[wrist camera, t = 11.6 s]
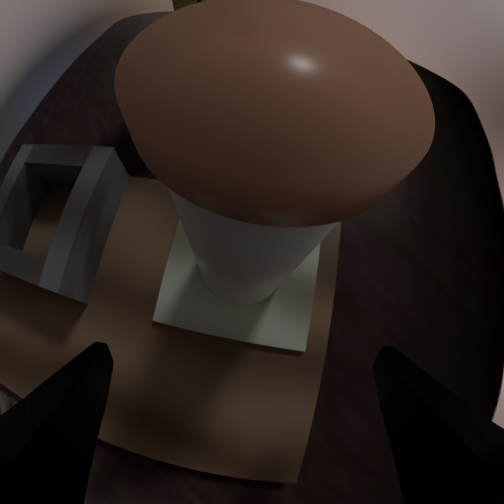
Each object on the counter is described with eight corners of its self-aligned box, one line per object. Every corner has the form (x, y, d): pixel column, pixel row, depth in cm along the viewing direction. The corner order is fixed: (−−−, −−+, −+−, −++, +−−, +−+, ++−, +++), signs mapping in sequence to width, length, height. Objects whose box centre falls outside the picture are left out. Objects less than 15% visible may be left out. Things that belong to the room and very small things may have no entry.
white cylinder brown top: (255, 329, 15) (376, 289, 3) (176, 274, 16) (54, 92, 3) (305, 252, 17) (447, 76, 4) (231, 203, 17) (243, -18, 5)
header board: (291, 473, 14) (309, 510, 9) (-3, 372, 14) (-46, 371, 9) (334, 223, 19) (361, 187, 15) (51, 176, 19) (22, 143, 15)
